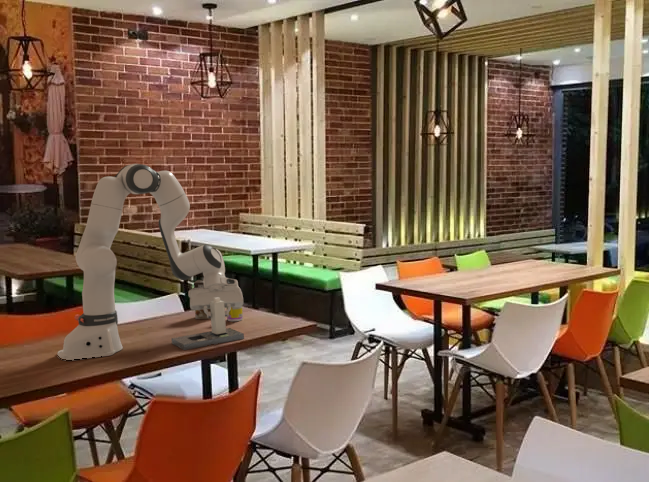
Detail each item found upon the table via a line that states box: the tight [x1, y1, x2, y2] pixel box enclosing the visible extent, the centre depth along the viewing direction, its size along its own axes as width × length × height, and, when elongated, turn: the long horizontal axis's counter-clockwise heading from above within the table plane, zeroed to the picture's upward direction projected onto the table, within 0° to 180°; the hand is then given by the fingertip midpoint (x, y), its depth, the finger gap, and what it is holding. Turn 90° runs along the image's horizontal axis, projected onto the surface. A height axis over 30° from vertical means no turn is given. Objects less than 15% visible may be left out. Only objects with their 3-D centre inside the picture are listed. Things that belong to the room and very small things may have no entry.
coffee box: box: [193, 279, 211, 320], centre depth 305 cm, size 9×6×16 cm
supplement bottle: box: [226, 305, 244, 323], centre depth 298 cm, size 7×7×13 cm
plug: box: [210, 297, 227, 334], centre depth 267 cm, size 4×4×13 cm
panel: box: [171, 327, 245, 351], centre depth 265 cm, size 24×12×2 cm, turn 123°
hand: (218, 316), depth 266 cm, fingers closed on plug, 5 cm apart
